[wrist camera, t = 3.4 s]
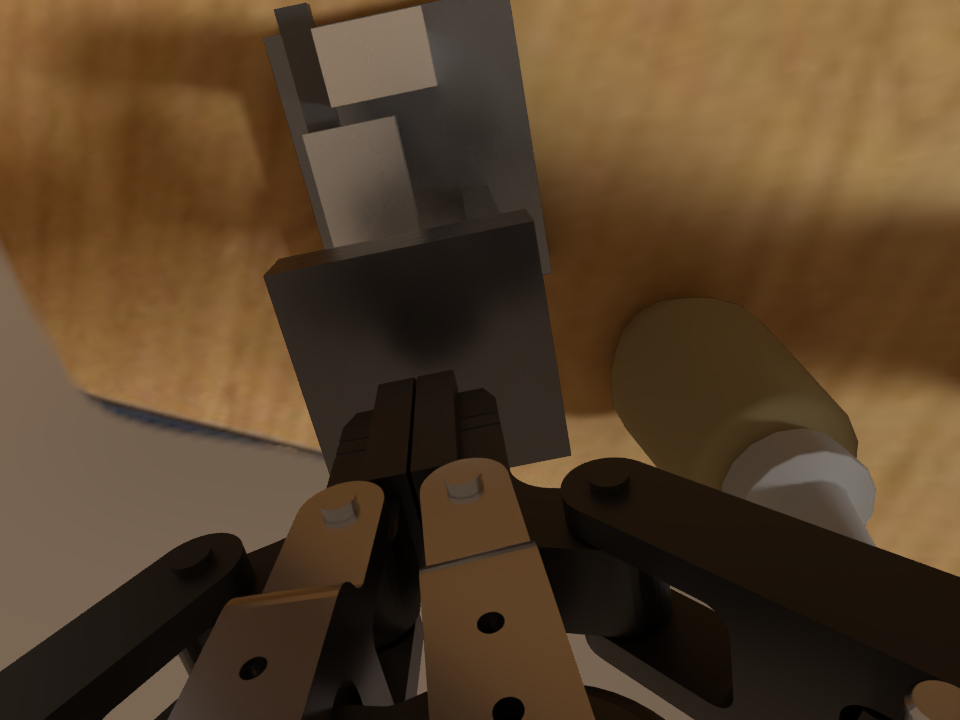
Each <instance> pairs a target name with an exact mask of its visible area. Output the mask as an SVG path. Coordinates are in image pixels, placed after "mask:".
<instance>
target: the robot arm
mask: <svg viewBox="0 0 960 720" xmlns="http://www.w3.org/2000/svg"><path fill="white" fill-rule="evenodd" d="M670 585H671V586H673V587H675V588H677V589H679V590H681V591H683V592H685V593H687V594H689V595H691V596H693V597H695V598H697V599H698V600H700V601H702V602H704V603H706V604H707V605H708V606H710V607H711V608H712V609H713V610H714V611H713V610H711V609H709V608H708V607H706V606H704V605H702V604H700V603H698V602H696V601H694V600H692V599H690V598H688V597H686V596H684V595H682V594H680V593H678V592H676V591H674V590H672V589H670ZM420 606H421V607H422V620H421V616H420V613H419V612H420ZM566 633H574V634H585V637H586V640H587V643H588V645H589V646H590V648H591V649H592V650H593V651H594V653H595V654H597V655H598V656H599V657H601V658H602V659H604V660H605V661H606V662H608V663H609V664H611V665H612V666H614V667H616V668H617V669H619V670H620V671H622V672H623V673H625V674H626V675H628V676H629V677H631V678H632V679H634V680H635V681H637V682H638V683H640V684H641V685H643V686H644V687H646V688H647V689H649V690H650V691H652V692H654V693H655V694H656V695H658V696H660V697H661V698H663V699H664V700H666V701H667V702H669V703H670V704H672V705H673V706H675V707H676V708H678V709H679V710H681V711H682V712H684V713H686V714H687V715H689V716H690V717H691V718H693V719H695V720H960V577H958V576H955V575H952V574H950V573H947V572H944V571H941V570H939V569H936V568H933V567H930V566H927V565H925V564H922V563H919V562H916V561H914V560H911V559H908V558H905V557H903V556H900V555H897V554H894V553H891V552H889V551H886V550H883V549H880V548H878V547H875V546H872V545H869V544H866V543H864V542H861V541H858V540H855V539H853V538H850V537H847V536H844V535H842V534H839V533H836V532H833V531H830V530H828V529H825V528H822V527H819V526H817V525H814V524H811V523H808V522H805V521H803V520H800V519H797V518H794V517H792V516H789V515H786V514H783V513H781V512H778V511H775V510H772V509H769V508H767V507H764V506H761V505H758V504H756V503H753V502H750V501H747V500H744V499H742V498H739V497H736V496H733V495H731V494H728V493H725V492H722V491H720V490H717V489H714V488H711V487H708V486H706V485H703V484H700V483H697V482H695V481H692V480H689V479H686V478H683V477H681V476H678V475H675V474H672V473H670V472H667V471H664V470H661V469H659V468H656V467H653V466H650V465H647V464H645V463H642V462H639V461H636V460H632V459H627V458H602V459H597V460H592V461H589V462H586V463H584V464H582V465H580V466H578V467H576V468H574V469H573V470H572V471H570V472H569V473H568V474H567V475H566V477H565V478H564V479H563V481H562V484H561V488H542V487H536V486H532V485H528V484H525V483H523V482H521V481H519V480H518V479H516V478H515V477H514V476H513V475H512V474H511V472H510V467H509V461H508V457H507V452H506V447H505V442H504V437H503V432H502V427H501V422H500V417H499V412H498V407H497V403H496V398H495V397H494V396H493V395H492V394H490V393H489V392H488V391H486V390H485V389H484V388H479V389H474V390H469V391H464V392H459V391H458V386H457V382H456V378H455V374H454V371H453V370H448V371H443V372H438V373H433V374H428V375H423V376H418V377H417V380H416V378H415V377H413V378H408V379H403V380H398V381H393V382H388V383H383V384H379V385H378V389H377V394H376V400H375V405H374V410H369V411H364V412H359V413H356V414H355V416H354V417H353V418H352V419H351V420H350V421H349V422H348V423H347V424H346V425H345V426H344V427H343V430H342V434H341V437H340V441H339V445H338V448H337V452H336V458H335V459H334V463H333V467H332V470H331V474H330V477H329V481H328V485H327V488H326V489H324V490H323V491H320V492H319V493H317V494H315V495H314V496H313V497H311V498H310V499H309V500H307V501H306V502H305V503H304V504H303V505H302V507H301V508H300V509H299V511H298V513H297V515H296V517H295V519H294V521H293V524H292V526H291V528H290V530H289V533H288V535H287V537H286V538H284V539H282V540H280V541H278V542H275V543H273V544H270V545H268V546H265V547H263V548H260V549H258V550H255V551H253V552H251V553H248V554H247V553H246V551H245V549H244V546H243V544H242V541H241V540H240V539H239V538H238V537H237V536H235V535H233V534H229V533H215V534H208V535H204V536H200V537H198V538H195V539H192V540H190V541H188V542H186V543H183V544H181V545H180V546H178V547H176V548H174V549H173V550H171V551H170V552H168V553H167V554H165V555H164V556H163V557H161V558H160V559H159V560H157V561H156V562H154V563H153V564H152V565H150V566H149V567H147V568H146V569H144V570H143V571H141V572H140V573H139V574H137V575H136V576H134V577H133V578H132V579H130V580H129V581H128V582H126V583H125V584H123V585H122V586H120V587H119V588H118V589H116V590H115V591H113V592H112V593H111V594H109V595H108V596H106V597H105V598H103V599H102V600H101V601H99V602H98V603H96V604H95V605H94V606H92V607H91V608H89V609H88V610H87V611H85V612H84V613H82V614H81V615H80V616H78V617H77V618H75V619H74V620H72V621H71V622H70V623H68V624H67V625H65V626H64V627H63V628H61V629H60V630H58V631H57V632H56V633H54V634H53V635H51V636H50V637H48V638H47V639H46V640H44V641H43V642H42V643H40V644H39V645H37V646H36V647H34V648H33V649H32V650H30V651H29V652H28V653H26V654H25V655H23V656H22V657H20V658H19V659H17V660H16V661H15V662H14V663H12V664H11V665H9V666H8V667H6V668H5V669H3V670H2V671H1V672H0V720H102V719H103V718H104V717H105V716H106V715H107V714H108V713H109V712H110V711H111V710H112V709H114V708H115V707H116V706H117V705H118V704H120V703H121V702H122V701H123V700H124V699H126V698H127V697H128V696H129V695H130V694H131V693H132V692H134V691H135V690H136V689H137V688H138V687H140V686H141V685H142V684H143V683H144V682H146V681H147V680H148V679H149V678H150V677H152V676H153V675H154V674H155V673H156V672H158V671H159V670H160V669H161V668H162V667H163V666H165V665H166V664H167V663H168V662H169V661H171V660H172V659H173V658H174V657H175V656H177V655H179V657H180V659H181V661H182V663H183V665H184V667H185V669H186V671H187V673H188V675H189V678H188V680H187V682H186V684H185V686H184V688H183V690H182V692H181V694H180V696H179V698H178V699H177V700H176V701H174V702H173V703H172V704H171V705H170V706H169V707H168V708H167V709H166V710H164V711H163V712H162V713H161V714H160V715H159V716H158V717H157V718H156V719H154V720H665V719H664V718H662V717H661V716H659V715H658V714H656V713H655V712H653V711H652V710H650V709H648V708H646V707H645V706H643V705H641V704H639V703H637V702H636V701H634V700H631V699H629V698H626V697H624V696H622V695H619V694H617V693H614V692H610V691H607V690H604V689H600V688H596V687H591V686H586V685H583V682H582V679H581V676H580V673H579V670H578V667H577V664H576V661H575V658H574V655H573V652H572V649H571V646H570V643H569V640H568V637H567V634H566ZM423 639H424V651H425V665H426V679H427V692H424V693H422V694H420V695H417V690H418V681H419V673H420V665H421V655H422V647H423Z"/></svg>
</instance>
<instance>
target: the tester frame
mask: <svg viewBox="0 0 960 720" xmlns="http://www.w3.org/2000/svg"><path fill="white" fill-rule="evenodd" d="M311 32H312V36H313V40H314V44H315V47H316V51H317V55H318V59H319V63H320V66H321V70H322V74H323V78H324V82H325V85H326V89H327V93H328V97H329V100H330V104H331V108H333V107H336V108H337V112H338V116H339V120H340V124H341V126H344V125H349V124H354V123H358V122H363V121H368V120H373V119H378V118H382V117H387V116H392V115H395V116H396V120H397V125H398V129H399V133H400V138H401V142H402V146H403V151H404V155H405V160H406V164H407V168H408V173H409V177H410V181H411V186H412V190H413V195H414V199H415V203H416V208H417V212H418V217H419V221H420V225H421V230H423V229H428V228H433V227H438V226H442V225H447V224H452V223H457V222H462V221H467V220H472V219H477V218H482V217H487V216H491V215H496V214H501V213H506V212H511V211H516V210H521V209H526V210H527V211H528V213H529V214H530V216H531V217H532V219H533V220H534V224H535V231H536V237H537V243H538V249H539V256H540V262H541V268H542V274H543V275H546V274H551V273H552V272H551V265H550V259H549V252H548V245H547V239H546V232H545V226H544V219H543V213H542V206H541V200H540V193H539V187H538V180H537V174H536V167H535V161H534V154H533V148H532V141H531V135H530V128H529V122H528V115H527V109H526V102H525V96H524V89H523V83H522V76H521V69H520V63H519V56H518V50H517V43H516V37H515V30H514V24H513V17H512V11H511V4H510V0H440V1H435V2H430V3H425V4H421V5H416V6H411V7H407V8H402V9H397V10H392V11H388V12H383V13H378V14H374V15H369V16H364V17H359V18H355V19H350V20H345V21H341V22H336V23H331V24H326V25H322V26H317V27H315V28H313V29H311ZM263 40H264V43H265V46H266V50H267V53H268V57H269V60H270V64H271V67H272V70H273V74H274V77H275V81H276V84H277V88H278V91H279V95H280V98H281V101H282V105H283V108H284V112H285V115H286V119H287V122H288V126H289V129H290V132H291V136H292V139H293V143H294V146H295V150H296V153H297V157H298V160H299V163H300V167H301V170H302V174H303V177H304V181H305V184H306V187H307V191H308V194H309V198H310V201H311V205H312V208H313V212H314V215H315V218H316V222H317V225H318V229H319V232H320V236H321V239H322V243H323V246H324V249H330V248H334V246H333V242H332V239H331V235H330V232H329V228H328V225H327V221H326V218H325V214H324V210H323V207H322V203H321V200H320V196H319V193H318V189H317V186H316V182H315V179H314V175H313V172H312V168H311V165H310V161H309V158H308V154H307V151H306V147H305V144H304V140H303V137H302V135H304V134H306V133H308V130H307V126H306V123H305V119H304V115H303V112H302V108H301V105H300V101H299V98H298V94H297V91H296V87H295V83H294V80H293V76H292V73H291V69H290V66H289V62H288V58H287V55H286V51H285V48H284V44H283V41H282V37H281V34H279V35H275V36H270V37H265V38H263Z"/></svg>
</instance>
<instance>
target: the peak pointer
mask: <svg viewBox="0 0 960 720" xmlns="http://www.w3.org/2000/svg"><path fill="white" fill-rule="evenodd" d="M274 12H275V16H276V19H277V23H278V26H279V30H280V33H281V37H282V41H283V44H284V48H285V51H286V55H287V58H288V62H289V66H290V69H291V73H292V76H293V80H294V83H295V87H296V91H297V94H298V98H299V101H300V105H301V108H302V112H303V115H304V119H305V123H306V126H307V130H308V133H310V132H315V131H320V130H325V129H330V128H334V127H339V126H341V124H340V120H339V116H338V112H337V108H336V107H333V108H331V104H330V100H329V97H328V93H327V89H326V85H325V82H324V78H323V74H322V70H321V66H320V63H319V59H318V55H317V51H316V47H315V44H314V40H313V36H312V32H311V29H313V28H315V24H314V20H313V16H312V12H311V8H310V5H309V4H307V3H302V4H298V5H293V6H288V7H284V8H279V9H274Z"/></svg>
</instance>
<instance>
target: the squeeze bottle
mask: <svg viewBox="0 0 960 720" xmlns="http://www.w3.org/2000/svg"><path fill="white" fill-rule="evenodd" d="M611 385H612V402H613V406H614V408H615V410H616V411H617V413H618V415H619V417H620V419H621V420H622V422H623V424H624V426H625V428H626V429H627V430H628V432H629V433H630V434H631V435H632V437H633V438H634V439H635V440H636V442H637V443H638V444H639V445H640V447H641V448H642V449H643V450H644V452H645V453H646V454H647V455H648V457H649V458H650V459H651V460H652V462H653V463H654V464H655V465H656V467H657V468H659V469H661V470H664V471H667V472H670V473H672V474H675V475H678V476H681V477H683V478H686V479H689V480H692V481H695V482H697V483H700V484H703V485H706V486H708V487H711V488H714V489H717V490H720V491H722V492H725V493H728V494H731V495H733V496H736V497H739V498H742V499H744V500H747V501H750V502H753V503H756V504H758V505H761V506H764V507H767V508H769V509H772V510H775V511H778V512H781V513H783V514H786V515H789V516H792V517H794V518H797V519H800V520H803V521H805V522H808V523H811V524H814V525H817V526H819V527H822V528H825V529H828V530H830V531H833V532H836V533H839V534H842V535H844V536H847V537H850V538H853V539H855V540H858V541H861V542H864V543H866V544H869V545H872V546H875V544H874V542H873V540H872V539H871V537H870V535H869V533H868V531H867V530H866V528H865V525H866V523H867V522H868V520H869V518H870V517H871V515H872V513H873V508H874V500H875V492H876V488H875V486H874V483H873V481H872V478H871V476H870V473H869V470H868V469H867V468H866V467H865V466H864V465H863V464H862V463H861V462H860V461H858V460H857V459H856V457H857V448H858V440H857V437H856V435H855V432H854V430H853V427H852V425H851V422H850V420H849V417H848V415H847V414H846V413H845V412H844V411H843V410H842V408H841V407H840V406H839V405H838V404H837V403H836V402H835V401H834V400H833V399H832V398H831V397H830V395H829V394H828V393H827V392H826V391H825V390H824V389H823V388H822V387H821V386H820V385H819V383H818V382H817V381H816V380H815V379H814V378H813V377H812V376H811V375H810V374H809V373H808V372H807V370H806V369H805V368H804V367H803V366H802V365H801V364H800V363H799V362H798V361H797V360H796V358H795V357H794V356H793V355H792V354H791V353H790V352H789V351H788V350H787V349H786V348H785V346H784V345H783V344H782V343H781V342H780V341H779V340H778V339H777V338H776V337H775V336H774V335H773V333H772V332H771V331H770V330H769V329H768V328H767V327H766V326H765V325H764V324H763V323H762V322H761V321H759V320H758V319H757V318H756V317H755V316H753V315H752V314H751V313H750V312H749V311H747V310H746V309H745V308H744V307H742V306H741V305H737V304H733V303H729V302H725V301H721V300H717V299H713V298H678V299H671V300H664V301H658V302H656V303H654V304H653V305H651V306H649V307H647V308H645V309H643V310H642V311H640V312H638V313H637V314H636V315H635V317H634V318H633V319H632V320H631V321H630V322H629V323H628V324H627V326H626V327H625V328H624V329H623V331H622V334H621V337H620V339H619V342H618V345H617V348H616V351H615V357H614V362H613V367H612V372H611ZM875 547H876V546H875Z"/></svg>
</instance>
